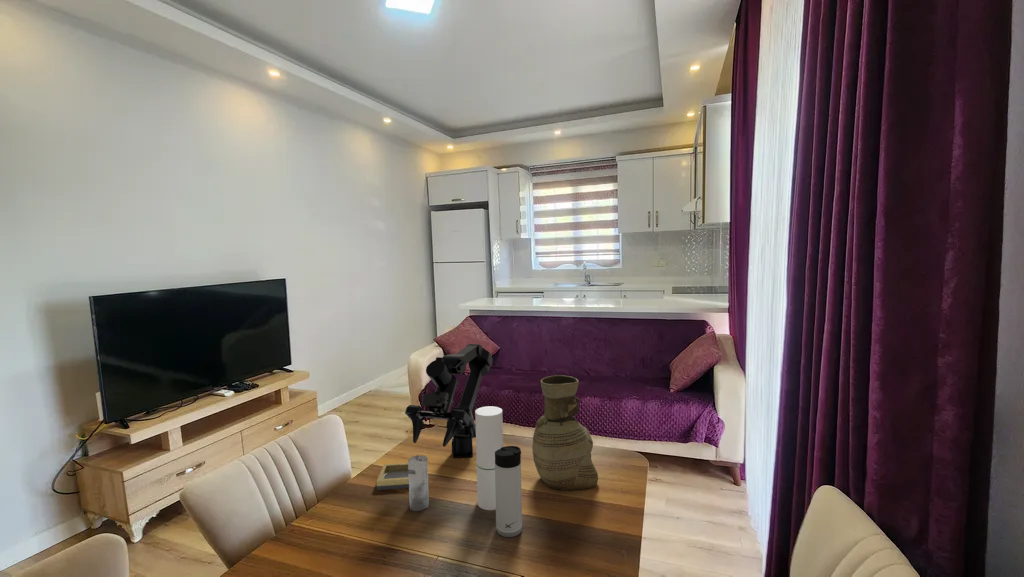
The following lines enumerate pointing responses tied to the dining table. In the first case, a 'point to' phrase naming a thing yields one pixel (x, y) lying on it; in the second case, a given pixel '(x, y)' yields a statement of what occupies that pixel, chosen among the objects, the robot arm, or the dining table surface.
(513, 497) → the travel mug
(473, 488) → the dining table surface
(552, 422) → the ceramic vessel
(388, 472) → the plate
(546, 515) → the dining table surface
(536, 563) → the dining table surface
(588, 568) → the dining table surface
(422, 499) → the spout can
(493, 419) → the cylindrical container
